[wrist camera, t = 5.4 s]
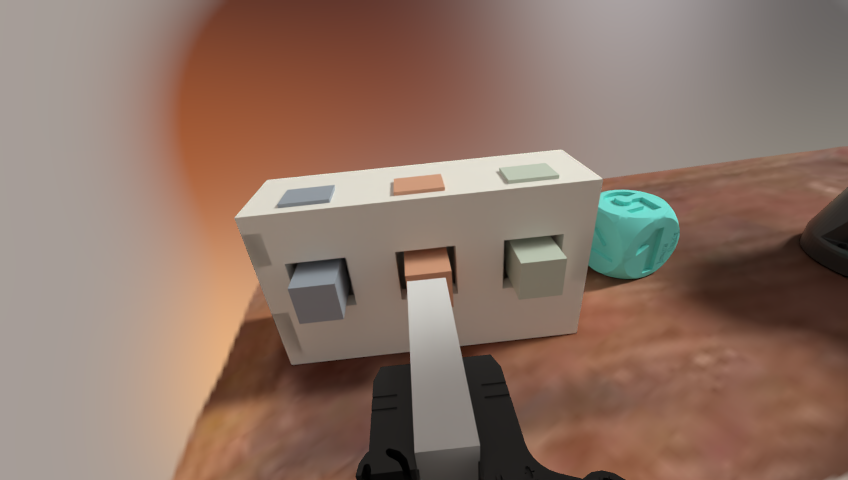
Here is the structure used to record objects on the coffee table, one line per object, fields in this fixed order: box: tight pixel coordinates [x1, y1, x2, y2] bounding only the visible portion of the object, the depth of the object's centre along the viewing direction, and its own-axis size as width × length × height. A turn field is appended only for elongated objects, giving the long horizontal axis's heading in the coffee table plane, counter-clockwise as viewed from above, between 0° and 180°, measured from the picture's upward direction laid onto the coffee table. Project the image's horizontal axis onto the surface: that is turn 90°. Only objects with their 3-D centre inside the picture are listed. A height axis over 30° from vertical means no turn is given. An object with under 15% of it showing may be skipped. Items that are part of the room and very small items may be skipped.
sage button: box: [503, 236, 567, 300], centre depth 31 cm, size 4×5×4 cm
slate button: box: [288, 258, 350, 324], centre depth 31 cm, size 4×5×4 cm
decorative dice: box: [588, 190, 680, 279], centre depth 43 cm, size 8×8×8 cm
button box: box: [235, 150, 603, 365], centre depth 35 cm, size 28×8×16 cm, turn 94°
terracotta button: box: [404, 247, 454, 307], centre depth 31 cm, size 4×5×4 cm
